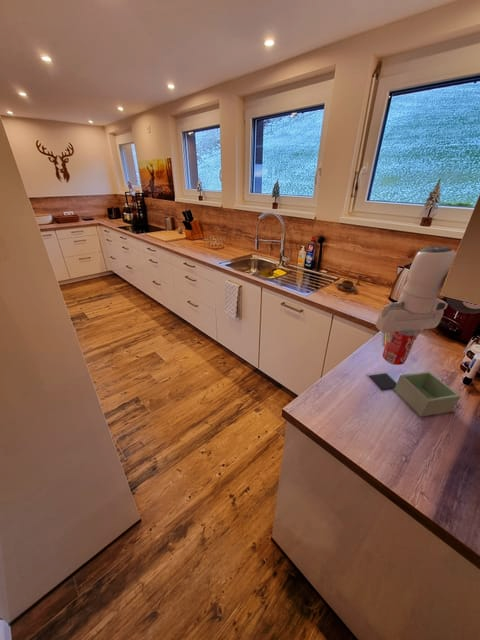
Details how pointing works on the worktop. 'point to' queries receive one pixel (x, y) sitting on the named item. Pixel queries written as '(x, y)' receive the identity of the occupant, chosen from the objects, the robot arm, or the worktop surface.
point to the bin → (426, 393)
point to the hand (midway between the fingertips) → (400, 340)
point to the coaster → (383, 381)
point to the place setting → (348, 285)
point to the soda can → (399, 347)
